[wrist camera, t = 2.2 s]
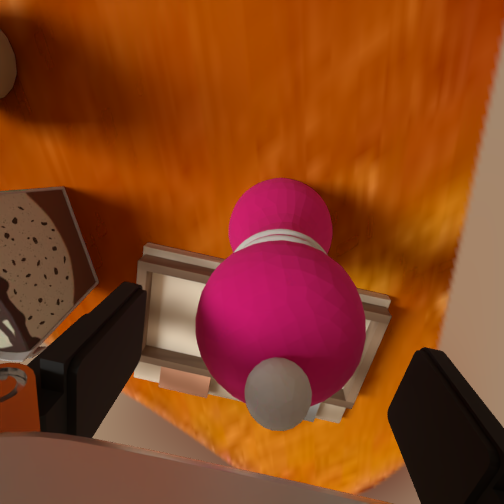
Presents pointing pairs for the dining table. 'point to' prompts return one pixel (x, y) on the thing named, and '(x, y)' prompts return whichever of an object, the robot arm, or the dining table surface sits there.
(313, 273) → the pepper mill
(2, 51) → the squeeze bottle
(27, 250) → the food container
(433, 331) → the dining table surface
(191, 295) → the holder board
